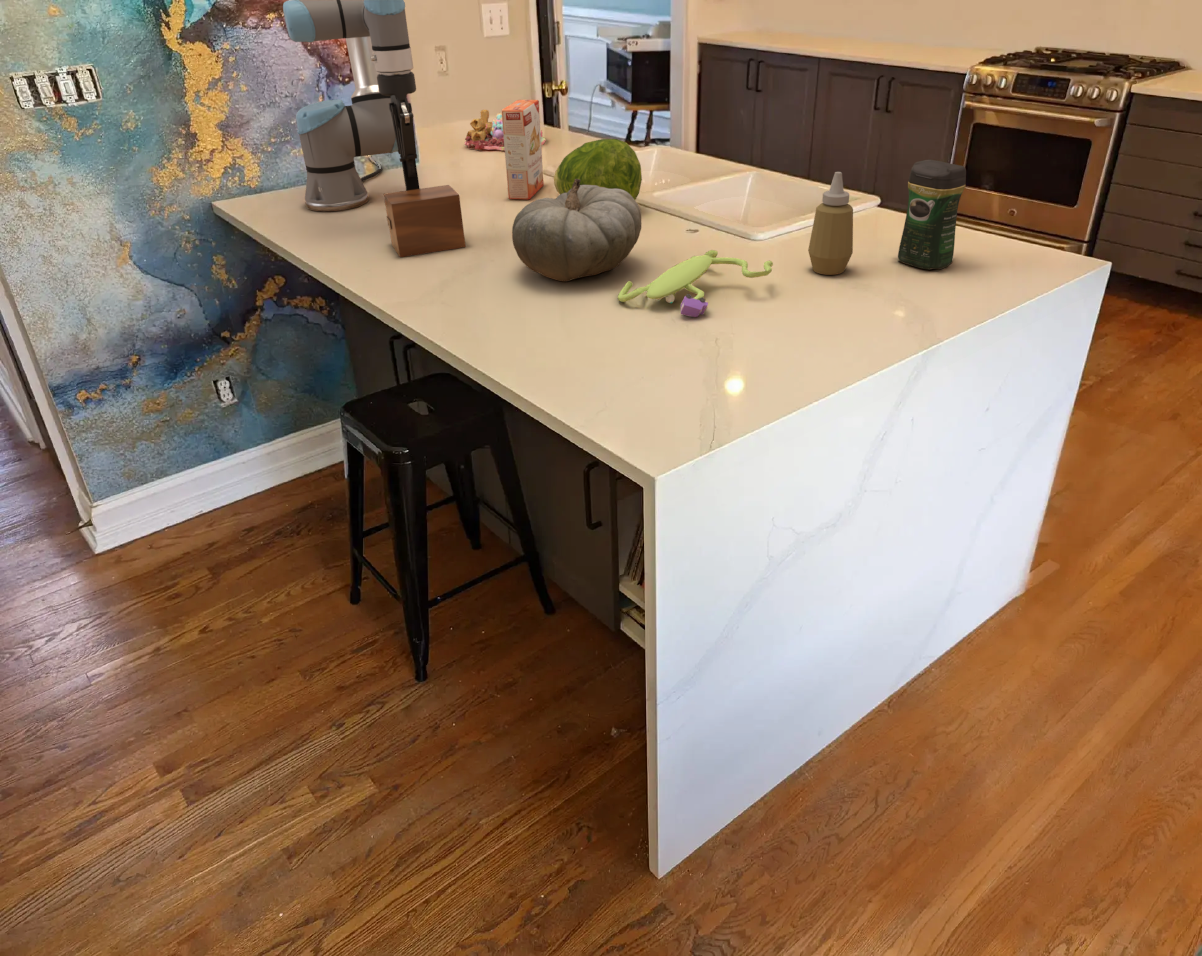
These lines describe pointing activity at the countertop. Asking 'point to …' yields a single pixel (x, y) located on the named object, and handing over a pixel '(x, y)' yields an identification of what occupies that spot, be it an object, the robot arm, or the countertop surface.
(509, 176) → the cracker box
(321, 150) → the robot arm
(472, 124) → the coral reef ornament
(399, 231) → the wooden storage crate
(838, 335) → the countertop surface
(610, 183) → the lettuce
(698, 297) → the figurine
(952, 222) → the coffee jar
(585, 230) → the gourd
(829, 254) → the squeeze bottle
